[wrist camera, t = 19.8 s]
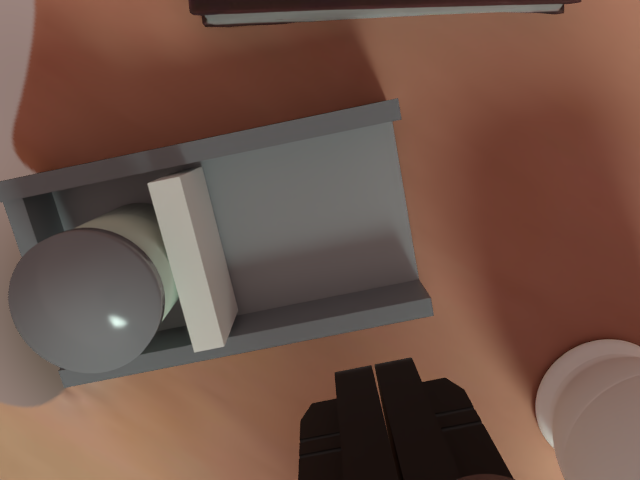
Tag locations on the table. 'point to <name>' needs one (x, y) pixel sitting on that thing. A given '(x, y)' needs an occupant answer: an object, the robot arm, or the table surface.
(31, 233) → the grey tray
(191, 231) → the block
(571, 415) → the jar
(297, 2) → the book
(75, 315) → the small jar
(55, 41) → the table surface
